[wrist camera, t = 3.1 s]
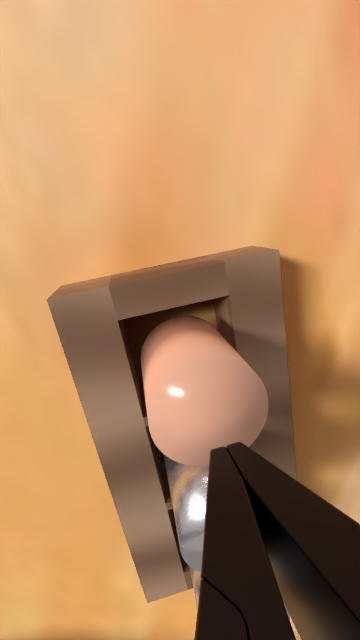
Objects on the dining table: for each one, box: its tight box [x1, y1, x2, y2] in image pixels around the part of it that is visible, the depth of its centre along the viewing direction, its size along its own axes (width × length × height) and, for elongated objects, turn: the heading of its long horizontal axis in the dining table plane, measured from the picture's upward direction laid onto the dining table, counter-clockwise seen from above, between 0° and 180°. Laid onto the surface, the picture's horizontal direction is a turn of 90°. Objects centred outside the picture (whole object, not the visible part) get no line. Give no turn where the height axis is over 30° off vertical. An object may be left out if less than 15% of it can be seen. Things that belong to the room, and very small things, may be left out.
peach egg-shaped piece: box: [141, 316, 269, 466], centre depth 12 cm, size 4×4×5 cm
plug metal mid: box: [164, 455, 209, 572], centre depth 14 cm, size 4×4×5 cm
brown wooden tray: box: [47, 246, 297, 603], centre depth 17 cm, size 19×10×3 cm, turn 11°
